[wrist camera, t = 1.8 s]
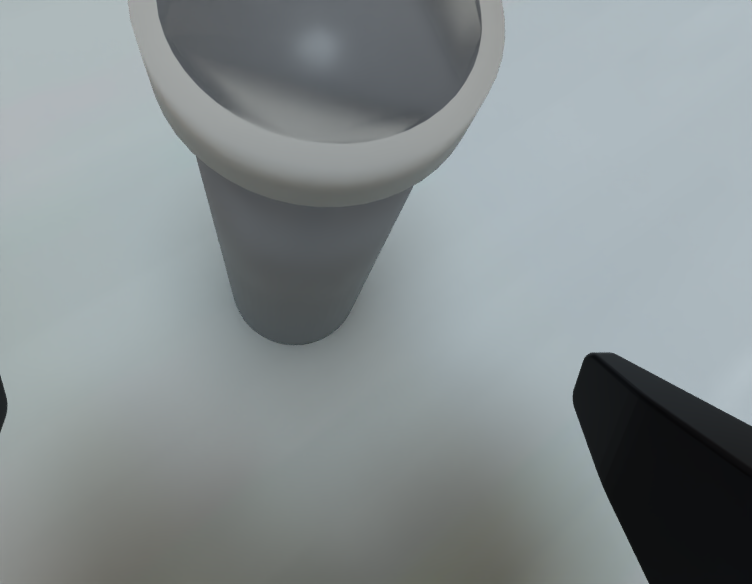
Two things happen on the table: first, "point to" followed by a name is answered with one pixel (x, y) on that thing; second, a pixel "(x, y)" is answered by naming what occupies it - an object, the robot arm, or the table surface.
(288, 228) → the tube
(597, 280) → the table surface
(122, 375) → the table surface
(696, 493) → the robot arm
